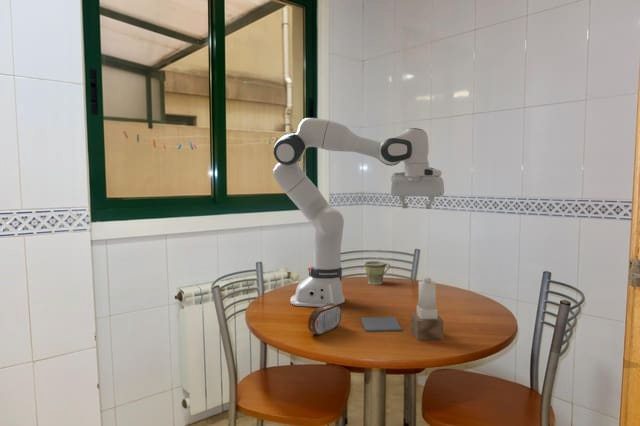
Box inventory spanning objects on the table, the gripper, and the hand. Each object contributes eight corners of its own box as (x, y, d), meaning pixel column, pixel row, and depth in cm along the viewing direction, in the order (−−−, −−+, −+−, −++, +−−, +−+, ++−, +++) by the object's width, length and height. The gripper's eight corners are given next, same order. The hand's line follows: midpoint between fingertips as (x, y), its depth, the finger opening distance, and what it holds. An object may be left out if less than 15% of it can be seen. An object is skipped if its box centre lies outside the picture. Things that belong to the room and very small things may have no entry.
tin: (335, 324, 141) (335, 300, 140) (343, 326, 139) (343, 301, 138) (307, 336, 129) (307, 310, 129) (314, 339, 127) (314, 312, 127)
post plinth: (417, 339, 126) (417, 311, 125) (411, 330, 134) (411, 303, 133) (443, 339, 126) (443, 311, 125) (435, 330, 134) (435, 303, 133)
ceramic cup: (369, 286, 193) (369, 265, 192) (361, 281, 203) (361, 261, 202) (394, 284, 197) (394, 263, 196) (385, 279, 206) (385, 260, 206)
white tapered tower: (420, 319, 127) (421, 280, 126) (416, 314, 132) (416, 276, 131) (437, 319, 127) (438, 280, 126) (432, 313, 132) (433, 276, 131)
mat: (365, 331, 133) (365, 329, 133) (361, 319, 145) (361, 317, 145) (402, 330, 134) (402, 329, 134) (394, 318, 146) (394, 317, 146)
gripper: (387, 172, 157) (387, 208, 158) (439, 170, 145) (439, 209, 146) (394, 172, 162) (394, 207, 163) (445, 171, 150) (445, 208, 151)
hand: (416, 208), depth 155 cm, fingers open, 8 cm apart
